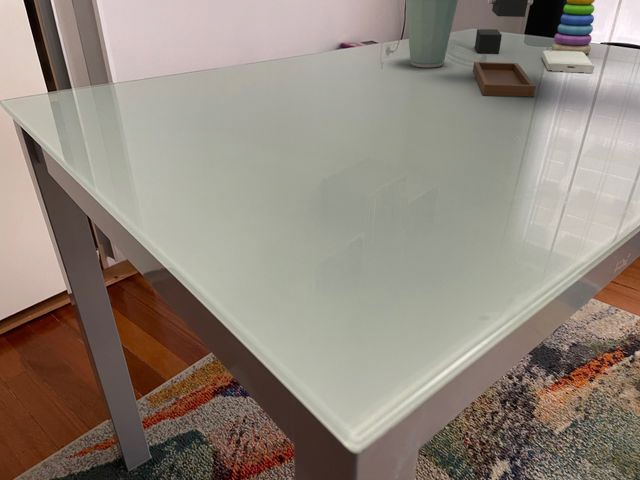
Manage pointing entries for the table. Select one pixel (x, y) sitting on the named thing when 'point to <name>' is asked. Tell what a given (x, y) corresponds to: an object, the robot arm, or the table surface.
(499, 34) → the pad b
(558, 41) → the stacking toy
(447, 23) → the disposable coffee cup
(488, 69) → the tray
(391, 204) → the table surface
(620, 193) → the table surface
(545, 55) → the hard drive
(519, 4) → the black rectangular block
